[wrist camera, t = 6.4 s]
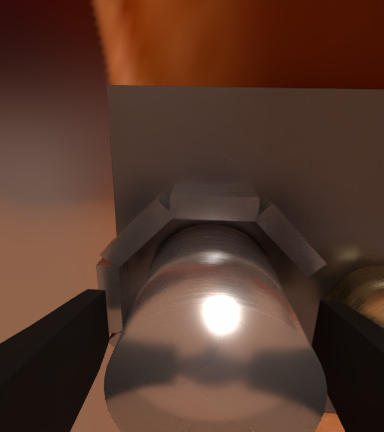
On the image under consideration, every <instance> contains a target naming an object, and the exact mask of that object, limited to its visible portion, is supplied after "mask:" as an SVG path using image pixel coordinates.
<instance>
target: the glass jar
mask: <svg viewBox="0 0 384 432" xmlns="http://www.w3.org/2000/svg"><path fill="white" fill-rule="evenodd" d="M104 392H105V399H106V403H107V406H108V410H109V412H110V414H111V416H112V418H113V420H114V422H115V423H116V425H117V426H118V428H119V429H120V430H121V431H122V432H314V431H315V429H316V428H317V426H318V424H319V423H320V421H321V418H322V416H323V413H324V411H325V406H326V401H327V385H326V378H325V374H324V371H323V369H322V366H321V363H320V362H319V360H318V358H317V356H316V354H315V352H314V350H313V348H312V346H311V344H310V342H309V340H308V338H307V336H306V334H305V332H304V330H303V328H302V326H301V324H300V322H299V320H298V318H297V316H296V314H295V312H294V310H293V308H292V306H291V304H290V302H289V300H288V298H287V296H286V294H285V292H284V290H283V288H282V286H281V284H280V282H279V280H278V278H277V276H276V274H275V272H274V270H273V268H272V266H271V264H270V262H269V260H268V258H267V256H266V254H265V253H264V251H263V250H262V248H261V247H260V246H259V245H258V244H257V243H256V242H255V241H254V240H253V239H252V238H251V237H249V236H248V235H246V234H245V233H243V232H241V231H239V230H237V229H234V228H231V227H228V226H224V225H217V224H204V225H197V226H192V227H189V228H186V229H183V230H181V231H179V232H178V233H176V234H174V235H173V236H171V237H170V238H169V239H167V240H166V241H165V242H164V243H163V244H162V246H161V247H160V248H159V249H158V251H157V252H156V254H155V256H154V258H153V260H152V263H151V265H150V267H149V270H148V272H147V274H146V277H145V279H144V281H143V284H142V286H141V288H140V291H139V293H138V295H137V298H136V300H135V302H134V304H133V307H132V309H131V311H130V314H129V316H128V318H127V321H126V323H125V325H124V328H123V330H122V332H121V335H120V337H119V339H118V342H117V344H116V346H115V349H114V351H113V353H112V355H111V358H110V360H109V363H108V365H107V369H106V373H105V379H104Z"/></svg>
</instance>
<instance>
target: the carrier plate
mask: <svg viewBox="0 0 384 432" xmlns="http://www.w3.org/2000/svg"><path fill="white" fill-rule="evenodd" d="M107 96H108V111H109V126H110V141H111V155H112V171H113V186H114V201H115V216H116V230H117V231H116V232H117V237H116V238H115V239H114V240H113V241H112V242H111V243H110V244H109V245H108V246H107V247H106V248H105V249H104V251H103V252H102V253H101V254H100V255H101V256H102V257H103V258H102V259H101V260H100V261H99V263H98V264H97V265H96V268H97V279H98V290H105V291H106V303H107V315H108V327H109V333H112V334H111V336H110V340H109V343H110V344H111V345H113V346H114V347H115V346H116V344H117V342H118V339H119V337H120V335H121V332H122V330H123V328H124V325H125V323H126V321H127V318H128V316H129V314H130V311H131V309H132V307H133V304H134V302H135V300H136V298H137V295H138V293H139V291H140V288H141V286H142V284H143V281H144V279H145V277H146V274H147V272H148V270H149V267H150V265H151V263H152V260H153V258H154V256H155V254H156V252H157V251H158V249H159V248H160V247H161V246H162V244H163V243H164V242H165V241H166V240H167V239H169V238H170V237H171V236H173V235H174V234H176V233H178V232H179V231H181V230H183V229H186V228H189V227H192V226H197V225H204V224H217V225H224V226H228V227H231V228H234V229H237V230H239V231H241V232H243V233H245V234H246V235H248V236H249V237H251V238H252V239H253V240H254V241H255V242H256V243H257V244H258V245H259V246H260V247H261V248H262V250H263V251H264V253H265V254H266V256H267V258H268V260H269V262H270V264H271V266H272V268H273V270H274V272H275V274H276V276H277V278H278V280H279V282H280V284H281V286H282V288H283V290H284V292H285V294H286V296H287V298H288V300H289V302H290V304H291V306H292V308H293V310H294V312H295V314H296V316H297V318H298V320H299V322H300V324H301V326H302V328H303V330H304V332H305V334H306V336H307V338H308V340H309V342H310V344H311V345H312V340H313V335H314V329H315V324H316V319H317V313H318V308H319V303H320V300H338V301H341V302H343V303H344V304H346V305H348V306H350V307H351V308H353V309H354V310H356V311H358V312H359V313H361V314H362V315H364V316H365V317H367V318H368V319H370V320H371V321H373V322H374V323H376V324H377V325H379V326H381V327H382V328H384V89H322V88H258V87H194V86H130V85H107ZM324 413H336V411H335V409H334V407H333V405H332V403H331V401H330V399H329V397H328V395H327V401H326V406H325V411H324Z"/></svg>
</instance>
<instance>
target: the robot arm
mask: <svg viewBox="0 0 384 432" xmlns="http://www.w3.org/2000/svg"><path fill="white" fill-rule="evenodd" d="M109 340H110V338H109V327H108V315H107V303H106V291H105V290H94V289H93V290H91V289H87V290H86V291H84V292H82V293H80V294H79V295H77V296H76V297H74V298H72V299H71V300H69V301H68V302H66V303H65V304H63V305H62V306H60V307H59V308H57V309H56V310H54V311H53V312H51V313H50V314H48V315H46V316H45V317H43V318H42V319H40V320H39V321H37V322H35V323H34V324H32V325H31V326H29V327H27V328H26V329H24V330H22V331H21V332H19V333H17V334H16V335H14V336H12V337H11V338H9V339H7V340H6V341H4V342H2V343H1V344H0V432H70V431H71V428H72V426H73V424H74V422H75V420H76V418H77V416H78V414H79V412H80V410H81V408H82V405H83V403H84V401H85V399H86V397H87V395H88V393H89V391H90V389H91V386H92V384H93V382H94V380H95V378H96V376H97V373H98V371H99V369H100V366H101V364H102V361H103V358H104V355H105V352H106V349H107V346H108V343H109ZM311 346H312V348H313V350H314V352H315V354H316V356H317V358H318V360H319V362H320V363H321V366H322V369H323V371H324V374H325V378H326V385H327V395H328V397H329V399H330V401H331V403H332V405H333V407H334V409H335V411H336V413H337V415H338V417H339V419H340V422H341V424H342V426H343V428H344V430H345V432H384V328H382V327H381V326H379V325H377V324H376V323H374V322H373V321H371V320H370V319H368V318H367V317H365V316H364V315H362V314H361V313H359V312H358V311H356V310H354V309H353V308H351V307H350V306H348V305H346V304H344V303H343V302H341V301H338V300H320V303H319V308H318V313H317V319H316V324H315V329H314V335H313V340H312V345H311Z"/></svg>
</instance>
